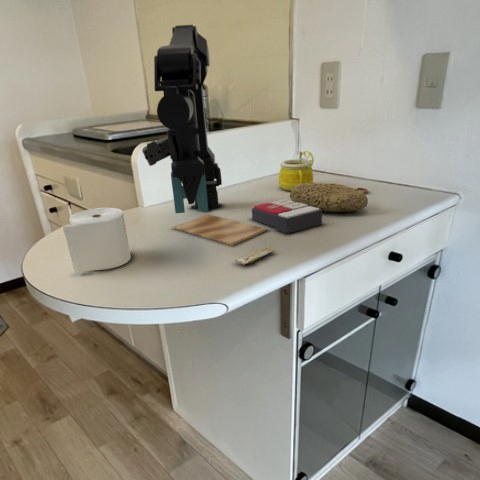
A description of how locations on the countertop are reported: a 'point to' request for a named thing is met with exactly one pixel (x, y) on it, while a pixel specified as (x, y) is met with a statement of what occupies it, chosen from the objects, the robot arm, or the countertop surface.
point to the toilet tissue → (97, 239)
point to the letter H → (180, 196)
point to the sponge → (329, 197)
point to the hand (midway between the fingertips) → (190, 201)
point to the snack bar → (254, 256)
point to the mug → (296, 172)
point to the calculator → (287, 215)
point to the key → (363, 190)
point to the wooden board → (220, 229)
